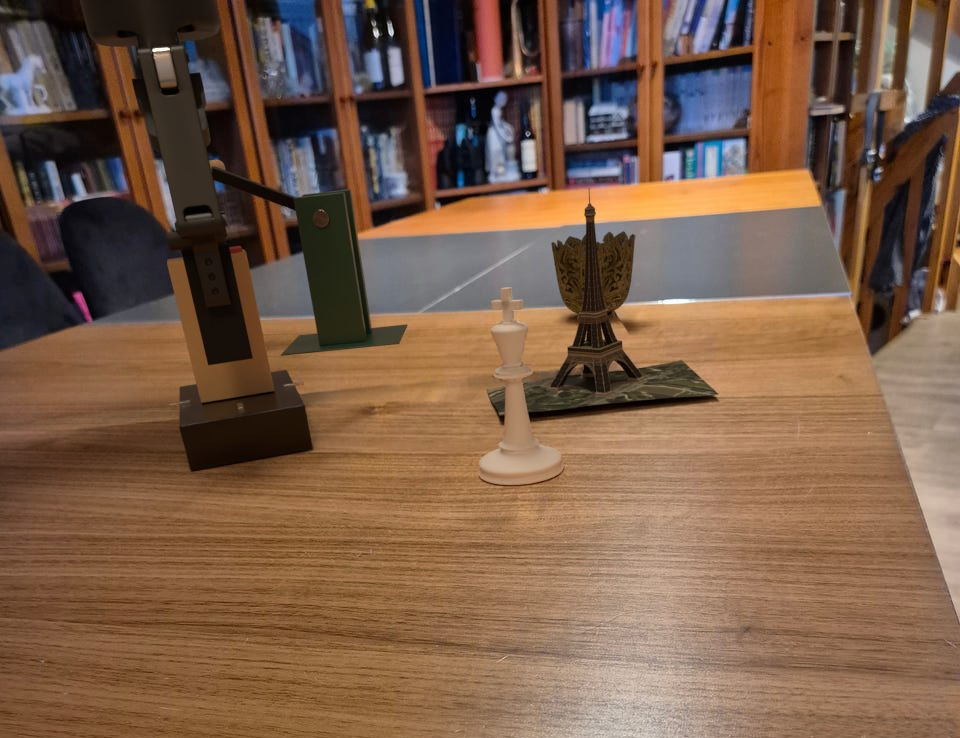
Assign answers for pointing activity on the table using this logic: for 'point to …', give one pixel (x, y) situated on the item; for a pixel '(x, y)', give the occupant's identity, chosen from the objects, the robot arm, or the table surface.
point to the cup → (612, 268)
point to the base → (243, 425)
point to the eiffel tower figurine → (602, 359)
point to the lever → (250, 186)
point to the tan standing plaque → (209, 378)
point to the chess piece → (516, 410)
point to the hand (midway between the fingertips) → (226, 343)
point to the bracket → (336, 277)
